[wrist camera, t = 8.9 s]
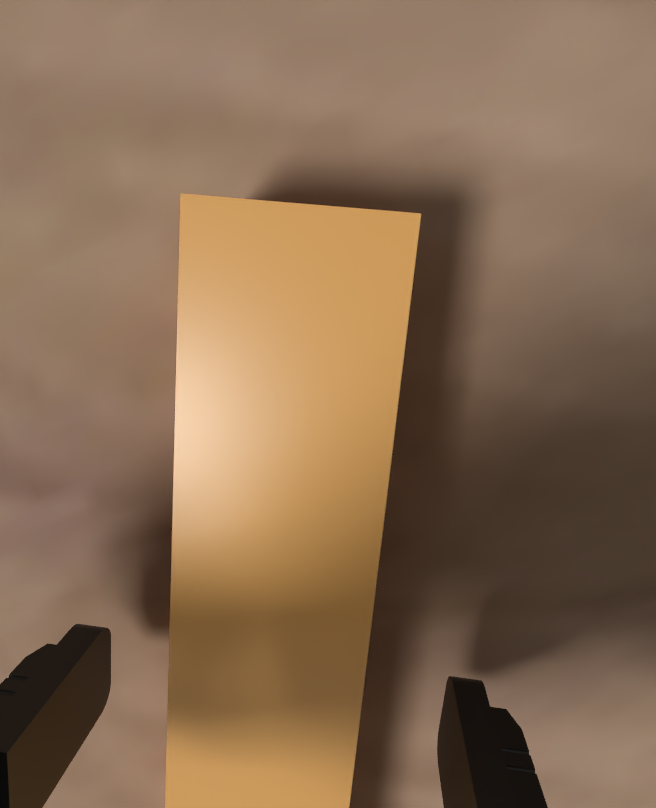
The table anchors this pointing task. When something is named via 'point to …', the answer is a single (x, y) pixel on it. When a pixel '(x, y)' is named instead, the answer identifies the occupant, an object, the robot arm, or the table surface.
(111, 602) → the table surface
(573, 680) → the table surface
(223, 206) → the bar
